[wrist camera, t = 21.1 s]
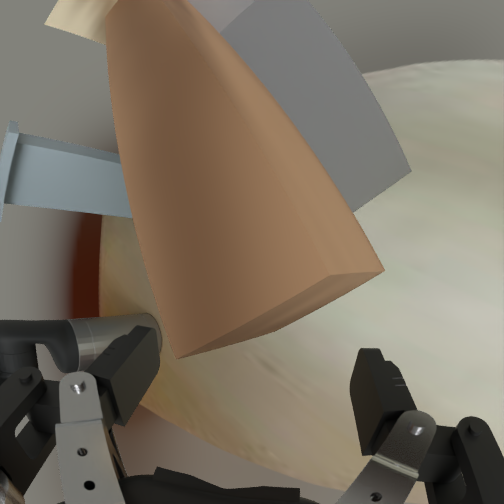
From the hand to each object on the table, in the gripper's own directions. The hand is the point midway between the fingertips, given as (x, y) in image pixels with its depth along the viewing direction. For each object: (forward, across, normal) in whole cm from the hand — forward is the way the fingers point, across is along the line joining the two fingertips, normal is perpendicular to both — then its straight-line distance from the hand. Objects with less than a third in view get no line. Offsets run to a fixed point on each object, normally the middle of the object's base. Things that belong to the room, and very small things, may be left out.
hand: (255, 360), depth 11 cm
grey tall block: (+27, +8, +10) cm, 29 cm away
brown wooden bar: (+2, -3, +11) cm, 12 cm away
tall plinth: (+42, -20, +2) cm, 46 cm away
